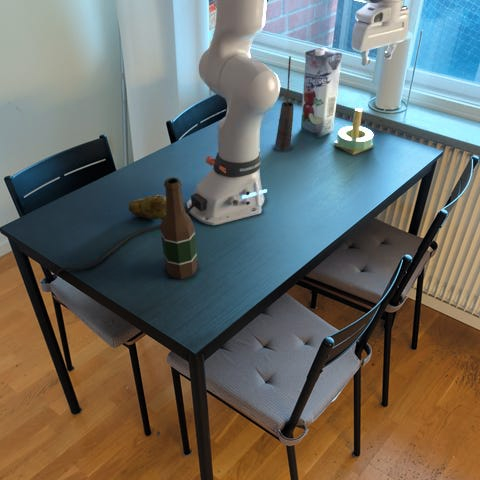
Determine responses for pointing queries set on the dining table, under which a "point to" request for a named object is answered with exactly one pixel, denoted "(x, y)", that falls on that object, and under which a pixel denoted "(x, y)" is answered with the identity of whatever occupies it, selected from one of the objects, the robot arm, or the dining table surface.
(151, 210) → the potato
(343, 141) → the ring
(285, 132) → the butter churn
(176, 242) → the beer bottle
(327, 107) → the juice carton
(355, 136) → the stand
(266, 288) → the dining table surface
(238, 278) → the dining table surface
